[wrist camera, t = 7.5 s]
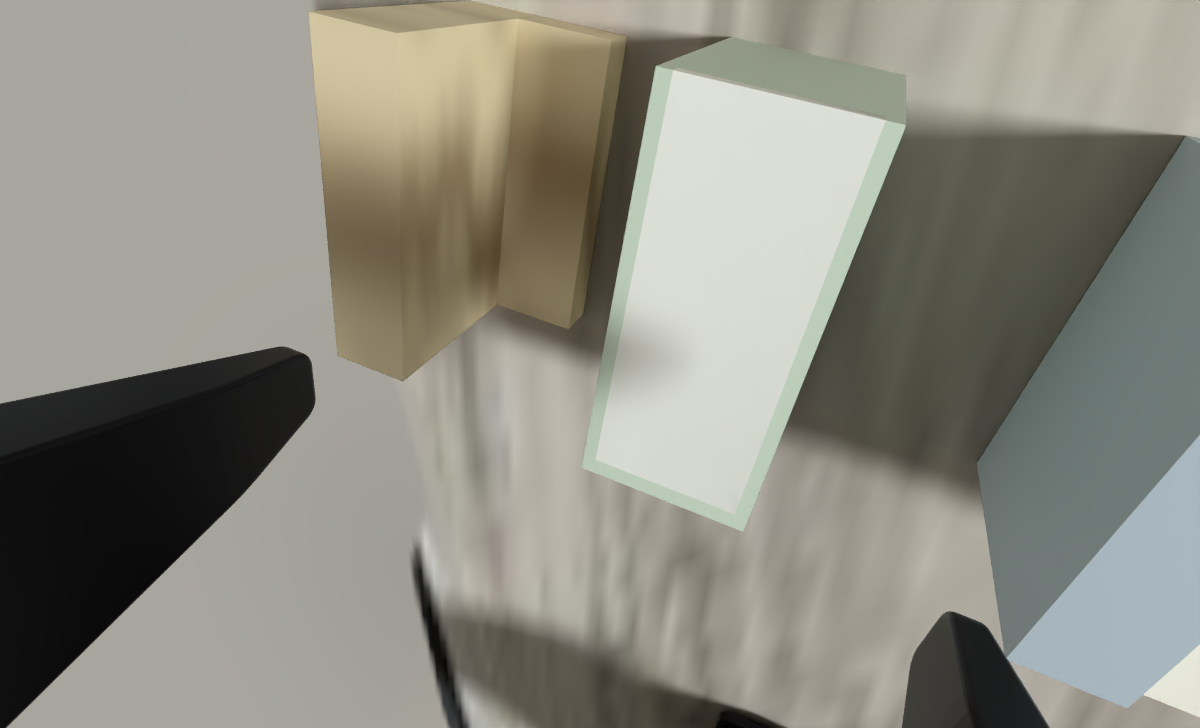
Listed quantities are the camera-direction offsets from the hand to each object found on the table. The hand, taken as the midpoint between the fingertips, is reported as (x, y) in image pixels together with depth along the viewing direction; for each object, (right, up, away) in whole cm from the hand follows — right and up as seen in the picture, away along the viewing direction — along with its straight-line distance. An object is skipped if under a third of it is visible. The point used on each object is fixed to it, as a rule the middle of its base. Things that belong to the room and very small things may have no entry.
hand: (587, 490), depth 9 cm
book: (+4, +5, +9) cm, 11 cm away
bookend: (-2, +7, +10) cm, 13 cm away
